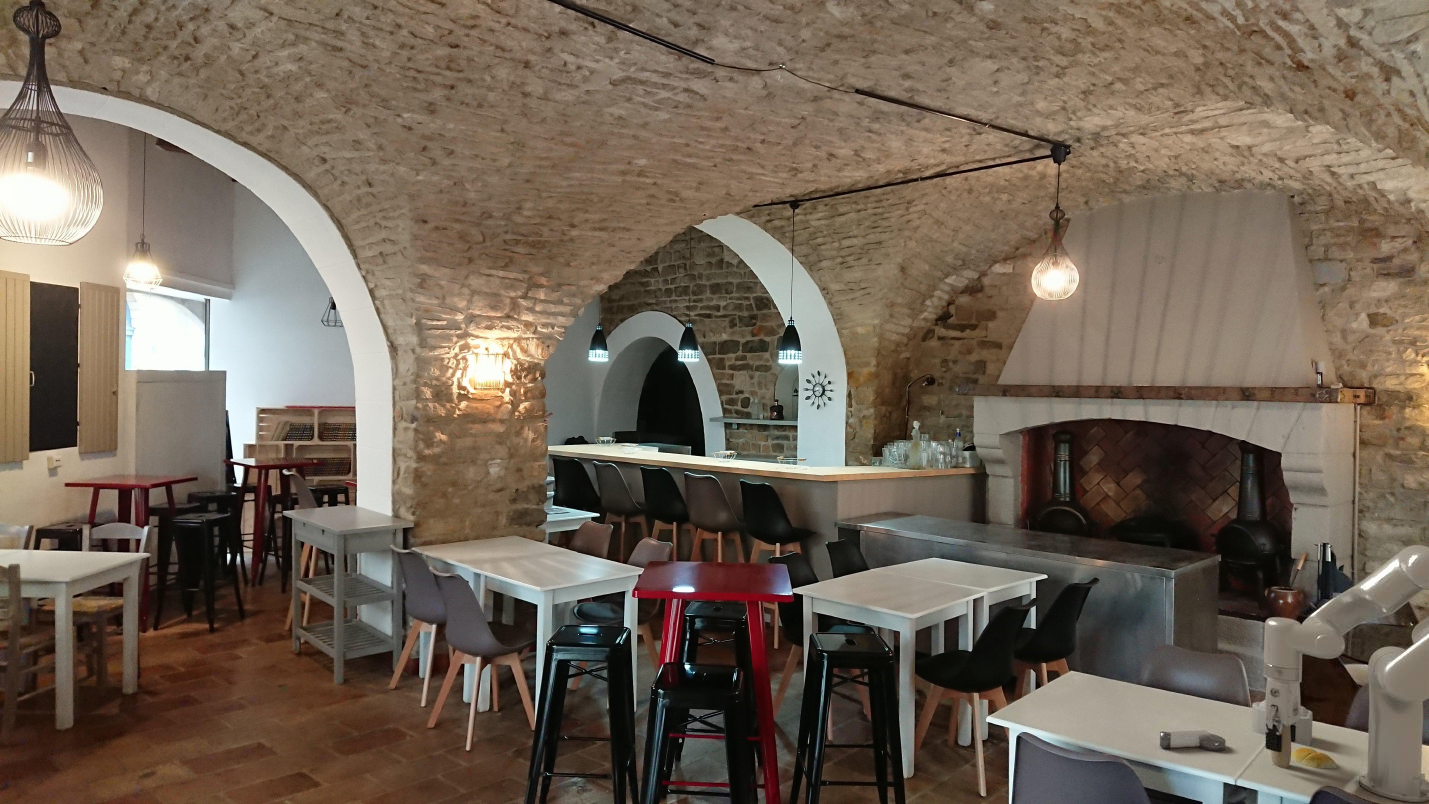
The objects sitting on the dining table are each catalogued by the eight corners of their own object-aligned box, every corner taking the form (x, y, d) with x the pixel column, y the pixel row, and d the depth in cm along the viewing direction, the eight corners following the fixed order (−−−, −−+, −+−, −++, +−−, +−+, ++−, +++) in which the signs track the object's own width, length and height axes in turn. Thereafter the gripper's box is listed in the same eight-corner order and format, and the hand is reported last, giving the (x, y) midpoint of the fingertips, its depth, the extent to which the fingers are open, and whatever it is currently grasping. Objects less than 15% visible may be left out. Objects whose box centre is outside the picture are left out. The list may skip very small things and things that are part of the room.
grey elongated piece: (1211, 739, 223) (1211, 725, 223) (1232, 750, 217) (1232, 736, 217) (1151, 742, 221) (1151, 728, 221) (1170, 753, 214) (1170, 738, 214)
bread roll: (1309, 758, 217) (1309, 742, 217) (1343, 773, 208) (1343, 756, 208) (1281, 761, 215) (1281, 744, 215) (1314, 776, 206) (1315, 759, 206)
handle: (1296, 777, 205) (1298, 712, 205) (1263, 770, 209) (1265, 706, 209) (1297, 770, 209) (1298, 706, 209) (1265, 763, 213) (1266, 700, 212)
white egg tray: (1308, 749, 223) (1309, 714, 223) (1248, 736, 231) (1249, 702, 231) (1313, 737, 231) (1314, 704, 231) (1254, 725, 239) (1255, 692, 239)
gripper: (1288, 683, 200) (1286, 759, 200) (1312, 669, 212) (1310, 741, 212) (1251, 675, 206) (1249, 749, 206) (1276, 661, 217) (1274, 732, 217)
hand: (1280, 745), depth 209 cm, fingers open, 9 cm apart
